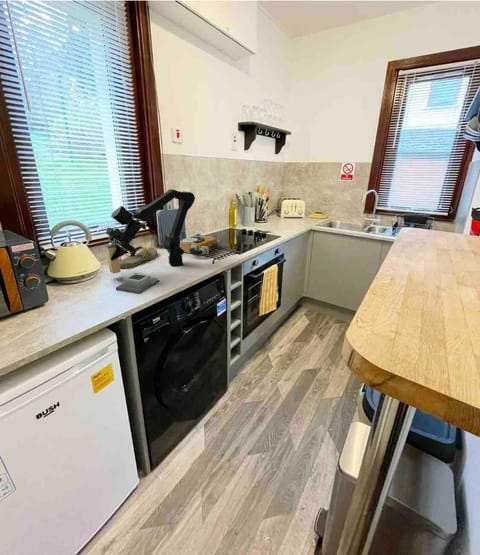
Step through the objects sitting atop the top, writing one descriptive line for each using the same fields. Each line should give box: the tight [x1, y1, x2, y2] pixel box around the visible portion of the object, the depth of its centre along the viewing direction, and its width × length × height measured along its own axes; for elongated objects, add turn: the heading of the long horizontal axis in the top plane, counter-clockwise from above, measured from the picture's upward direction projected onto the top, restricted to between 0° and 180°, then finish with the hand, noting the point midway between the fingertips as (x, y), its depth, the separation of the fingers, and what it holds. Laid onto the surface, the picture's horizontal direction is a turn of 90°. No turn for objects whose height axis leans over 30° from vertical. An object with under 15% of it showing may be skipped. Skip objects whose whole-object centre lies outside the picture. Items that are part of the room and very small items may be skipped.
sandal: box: [119, 245, 158, 269], centre depth 153 cm, size 12×30×8 cm, turn 161°
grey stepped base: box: [115, 273, 160, 295], centre depth 120 cm, size 14×12×4 cm
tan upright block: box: [104, 242, 122, 275], centre depth 125 cm, size 4×5×14 cm
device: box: [180, 233, 222, 256], centre depth 171 cm, size 23×8×30 cm
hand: (109, 258), depth 124 cm, fingers closed on tan upright block, 4 cm apart
